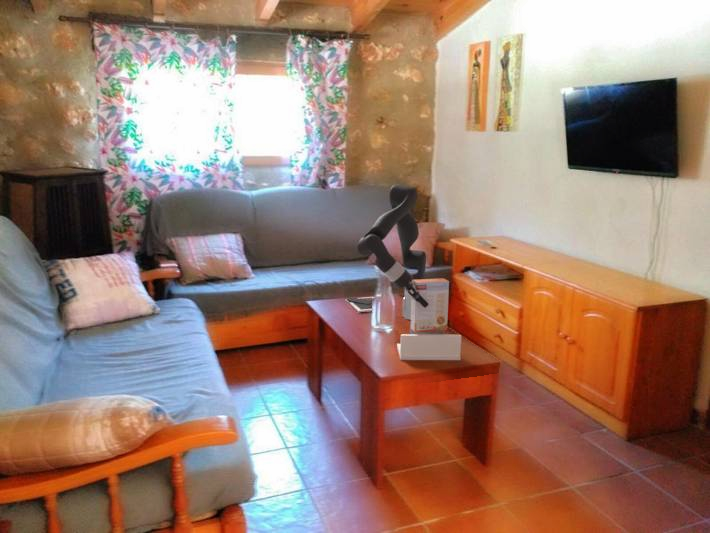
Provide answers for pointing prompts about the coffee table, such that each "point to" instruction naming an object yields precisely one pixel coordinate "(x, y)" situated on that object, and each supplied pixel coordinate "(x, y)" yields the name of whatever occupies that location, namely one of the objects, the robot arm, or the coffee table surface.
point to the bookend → (426, 332)
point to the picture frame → (361, 303)
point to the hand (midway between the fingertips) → (425, 303)
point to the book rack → (429, 347)
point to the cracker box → (430, 305)
